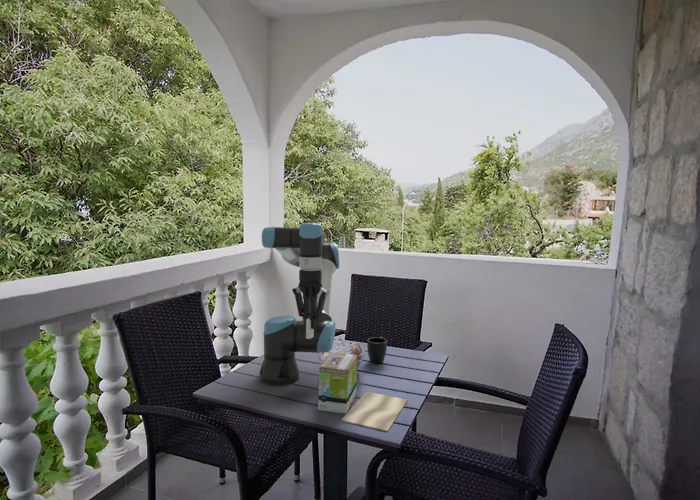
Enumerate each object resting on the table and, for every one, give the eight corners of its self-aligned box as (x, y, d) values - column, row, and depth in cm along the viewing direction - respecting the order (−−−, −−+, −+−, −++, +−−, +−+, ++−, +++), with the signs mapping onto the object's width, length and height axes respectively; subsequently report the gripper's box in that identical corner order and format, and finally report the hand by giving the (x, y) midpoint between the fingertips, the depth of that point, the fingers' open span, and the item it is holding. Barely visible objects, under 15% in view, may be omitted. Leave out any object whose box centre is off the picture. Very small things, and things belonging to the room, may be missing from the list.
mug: (391, 357, 184) (391, 336, 183) (382, 366, 173) (383, 344, 172) (373, 354, 187) (373, 333, 186) (364, 363, 176) (364, 341, 175)
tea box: (347, 414, 132) (348, 369, 131) (317, 411, 134) (317, 366, 133) (356, 394, 147) (357, 353, 145) (329, 391, 149) (329, 351, 147)
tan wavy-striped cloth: (340, 420, 128) (340, 419, 128) (366, 392, 148) (366, 391, 148) (387, 431, 122) (387, 430, 122) (407, 400, 142) (407, 399, 142)
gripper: (287, 269, 139) (287, 337, 141) (322, 271, 134) (321, 343, 136) (299, 266, 146) (298, 332, 148) (332, 269, 141) (331, 337, 143)
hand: (309, 337), depth 142 cm, fingers closed
